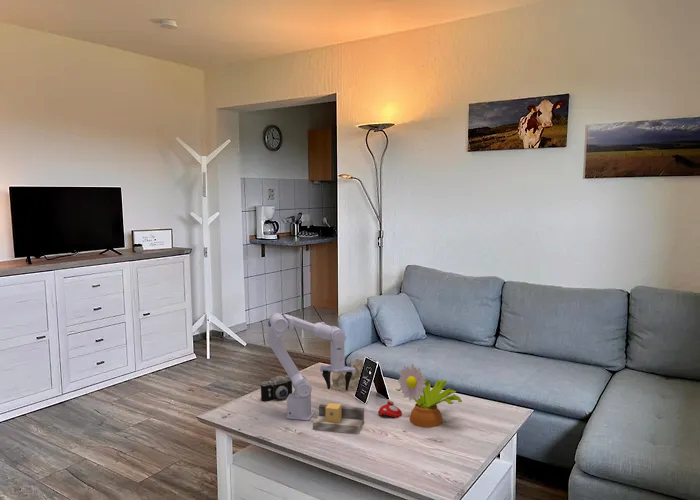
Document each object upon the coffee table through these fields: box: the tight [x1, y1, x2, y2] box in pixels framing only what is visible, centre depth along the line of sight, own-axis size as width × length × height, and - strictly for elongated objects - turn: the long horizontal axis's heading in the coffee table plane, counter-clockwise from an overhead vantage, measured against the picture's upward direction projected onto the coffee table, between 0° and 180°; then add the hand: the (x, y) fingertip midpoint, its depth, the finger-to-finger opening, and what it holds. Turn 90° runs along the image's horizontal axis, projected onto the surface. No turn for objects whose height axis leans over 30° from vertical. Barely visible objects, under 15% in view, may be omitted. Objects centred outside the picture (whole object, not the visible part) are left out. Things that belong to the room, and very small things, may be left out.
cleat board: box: [312, 403, 365, 435], centre depth 201 cm, size 18×10×6 cm, turn 76°
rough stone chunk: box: [331, 357, 365, 392], centre depth 244 cm, size 16×16×15 cm
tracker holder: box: [377, 399, 403, 419], centre depth 213 cm, size 12×4×10 cm
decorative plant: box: [395, 363, 463, 429], centre depth 204 cm, size 27×24×25 cm
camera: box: [260, 374, 293, 403], centre depth 229 cm, size 15×7×10 cm, turn 121°
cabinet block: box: [325, 402, 342, 423], centre depth 200 cm, size 5×6×6 cm
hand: (338, 388), depth 214 cm, fingers open, 7 cm apart
